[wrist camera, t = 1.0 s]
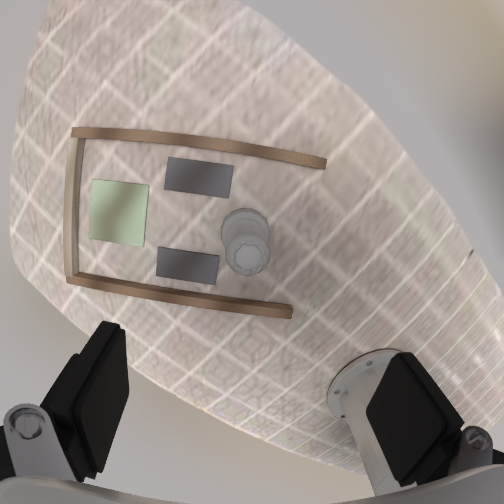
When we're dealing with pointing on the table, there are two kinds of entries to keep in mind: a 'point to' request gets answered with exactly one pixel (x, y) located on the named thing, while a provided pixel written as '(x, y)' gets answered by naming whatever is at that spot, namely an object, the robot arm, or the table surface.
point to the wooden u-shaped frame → (135, 208)
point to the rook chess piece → (246, 241)
